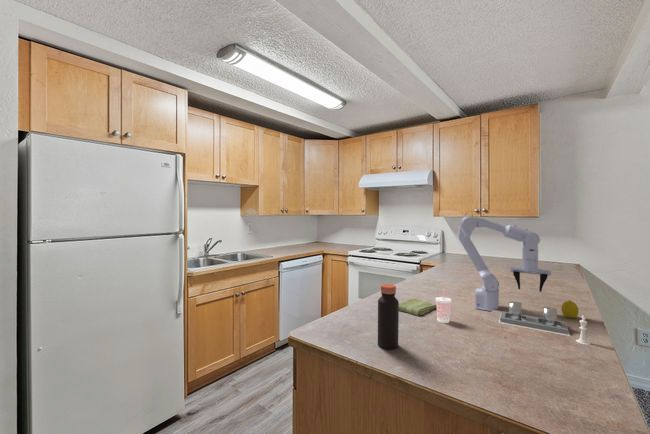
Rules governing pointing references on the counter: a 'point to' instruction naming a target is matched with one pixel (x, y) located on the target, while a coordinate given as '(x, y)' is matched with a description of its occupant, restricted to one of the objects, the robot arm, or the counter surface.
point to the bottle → (388, 317)
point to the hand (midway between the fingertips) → (529, 289)
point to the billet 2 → (550, 316)
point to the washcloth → (416, 306)
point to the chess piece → (583, 331)
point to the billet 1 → (515, 310)
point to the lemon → (569, 309)
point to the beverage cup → (443, 308)
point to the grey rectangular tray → (534, 324)
